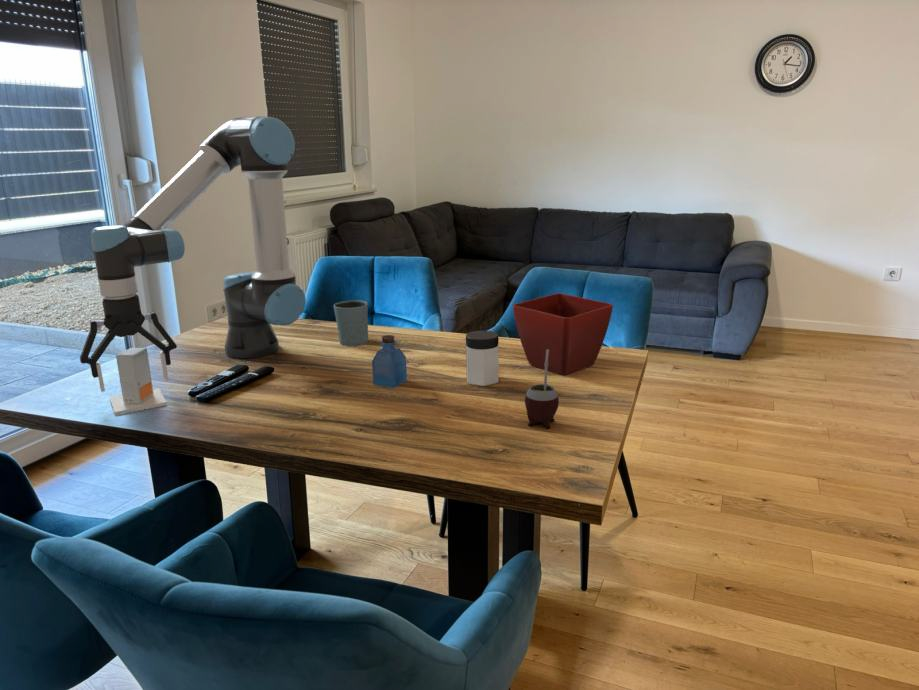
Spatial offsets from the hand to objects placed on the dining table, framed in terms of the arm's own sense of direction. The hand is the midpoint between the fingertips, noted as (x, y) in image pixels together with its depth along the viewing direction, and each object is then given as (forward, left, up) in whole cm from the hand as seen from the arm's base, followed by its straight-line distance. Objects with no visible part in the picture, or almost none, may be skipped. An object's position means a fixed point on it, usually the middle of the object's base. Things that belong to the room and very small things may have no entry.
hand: (135, 384), depth 157 cm
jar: (-76, +33, -5) cm, 83 cm away
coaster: (0, 0, -5) cm, 5 cm away
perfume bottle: (-56, +21, -5) cm, 60 cm away
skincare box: (0, 0, -4) cm, 4 cm away
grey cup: (-62, -17, -5) cm, 64 cm away
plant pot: (-100, +35, -5) cm, 106 cm away
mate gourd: (-72, +62, -5) cm, 95 cm away
